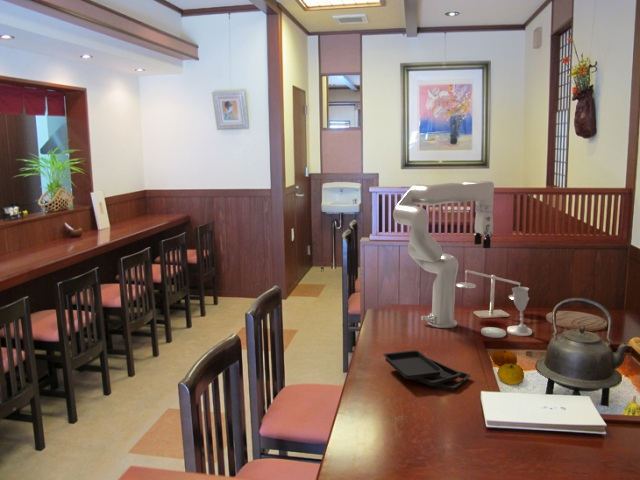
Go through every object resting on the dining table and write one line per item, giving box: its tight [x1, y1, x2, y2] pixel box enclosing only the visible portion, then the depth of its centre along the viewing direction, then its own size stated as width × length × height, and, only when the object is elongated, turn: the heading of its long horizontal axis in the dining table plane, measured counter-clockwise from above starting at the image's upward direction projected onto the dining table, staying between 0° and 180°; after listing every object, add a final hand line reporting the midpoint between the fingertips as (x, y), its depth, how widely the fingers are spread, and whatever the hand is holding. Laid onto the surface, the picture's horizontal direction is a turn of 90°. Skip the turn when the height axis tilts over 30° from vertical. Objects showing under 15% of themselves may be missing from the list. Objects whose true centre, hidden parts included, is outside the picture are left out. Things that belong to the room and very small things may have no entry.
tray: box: [383, 349, 471, 392], centre depth 191 cm, size 30×23×5 cm
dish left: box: [480, 326, 507, 339], centre depth 236 cm, size 10×10×1 cm
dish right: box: [506, 325, 533, 337], centre depth 239 cm, size 10×10×1 cm
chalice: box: [511, 286, 530, 332], centre depth 235 cm, size 7×7×18 cm
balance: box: [455, 269, 530, 319], centre depth 261 cm, size 36×9×22 cm, turn 101°
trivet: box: [545, 310, 608, 330], centre depth 252 cm, size 25×25×2 cm
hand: (482, 246), depth 256 cm, fingers open, 9 cm apart
